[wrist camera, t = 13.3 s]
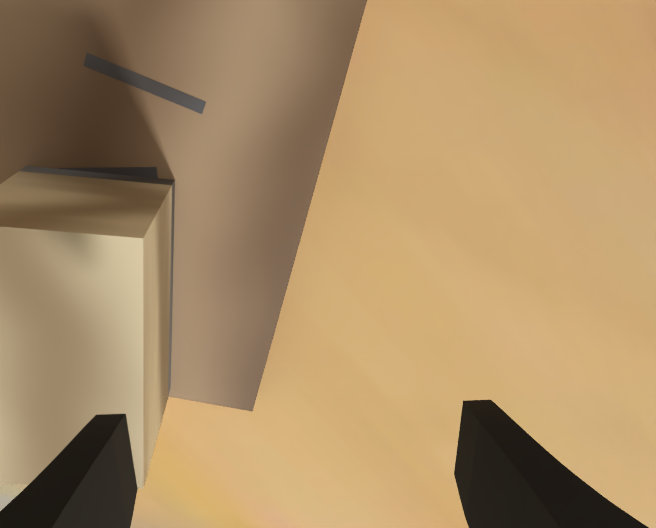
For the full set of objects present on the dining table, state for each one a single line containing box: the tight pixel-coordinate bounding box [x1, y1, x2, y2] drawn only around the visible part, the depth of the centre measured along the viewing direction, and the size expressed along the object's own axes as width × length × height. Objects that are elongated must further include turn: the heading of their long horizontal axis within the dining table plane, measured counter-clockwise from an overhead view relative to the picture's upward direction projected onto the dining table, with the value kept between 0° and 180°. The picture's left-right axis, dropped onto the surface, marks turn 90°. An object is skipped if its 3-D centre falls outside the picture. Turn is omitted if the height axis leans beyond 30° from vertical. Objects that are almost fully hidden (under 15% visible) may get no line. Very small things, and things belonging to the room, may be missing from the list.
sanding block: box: [0, 166, 175, 489], centre depth 18 cm, size 4×8×5 cm, turn 173°
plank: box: [0, 0, 367, 411], centre depth 19 cm, size 12×22×1 cm, turn 164°
